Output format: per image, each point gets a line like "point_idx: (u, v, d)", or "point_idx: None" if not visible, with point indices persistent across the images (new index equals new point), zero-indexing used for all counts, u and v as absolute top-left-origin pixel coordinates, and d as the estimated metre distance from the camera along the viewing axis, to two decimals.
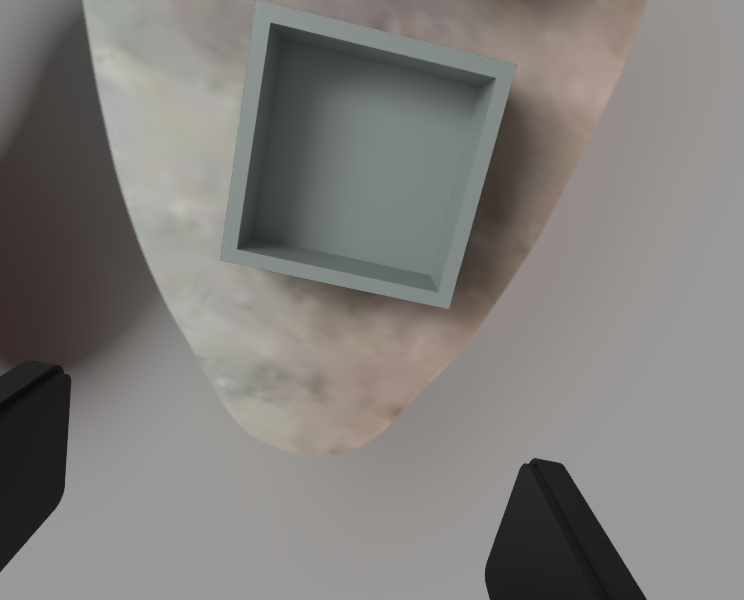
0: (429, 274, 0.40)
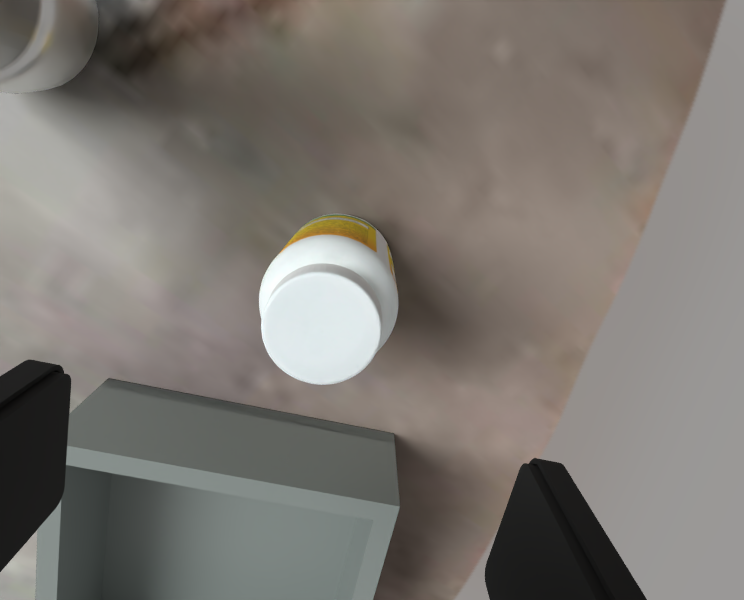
0: None
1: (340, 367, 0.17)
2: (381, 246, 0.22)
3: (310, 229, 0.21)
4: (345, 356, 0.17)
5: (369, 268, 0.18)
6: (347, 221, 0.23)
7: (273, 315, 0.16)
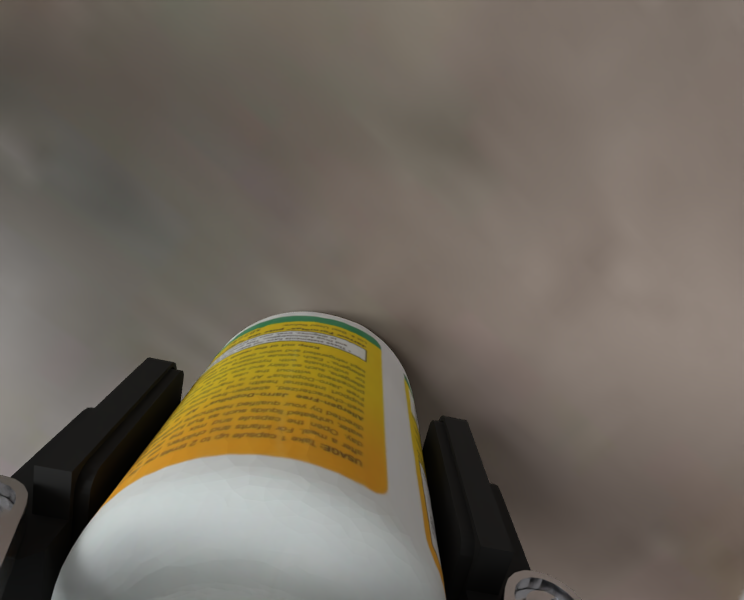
0: None
1: None
2: (395, 416, 0.09)
3: (222, 390, 0.08)
4: None
5: (366, 582, 0.06)
6: (318, 348, 0.10)
7: None
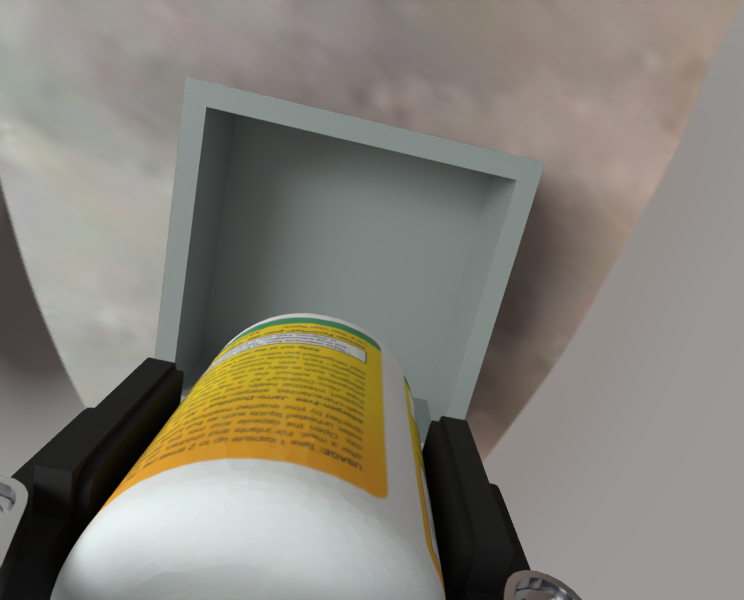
0: (425, 399, 0.31)
1: None
2: (395, 419, 0.09)
3: (221, 392, 0.08)
4: None
5: (366, 587, 0.06)
6: (318, 350, 0.10)
7: None
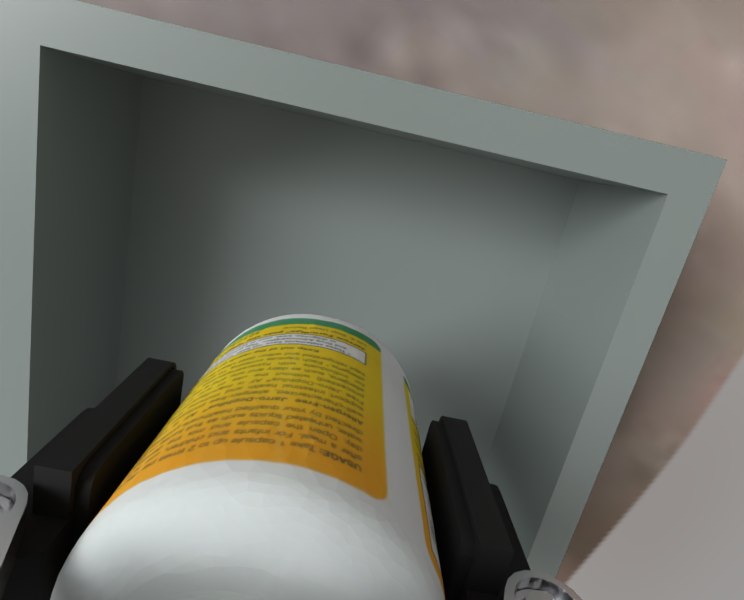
0: None
1: None
2: (395, 420, 0.09)
3: (220, 393, 0.08)
4: None
5: (366, 588, 0.06)
6: (318, 351, 0.10)
7: None
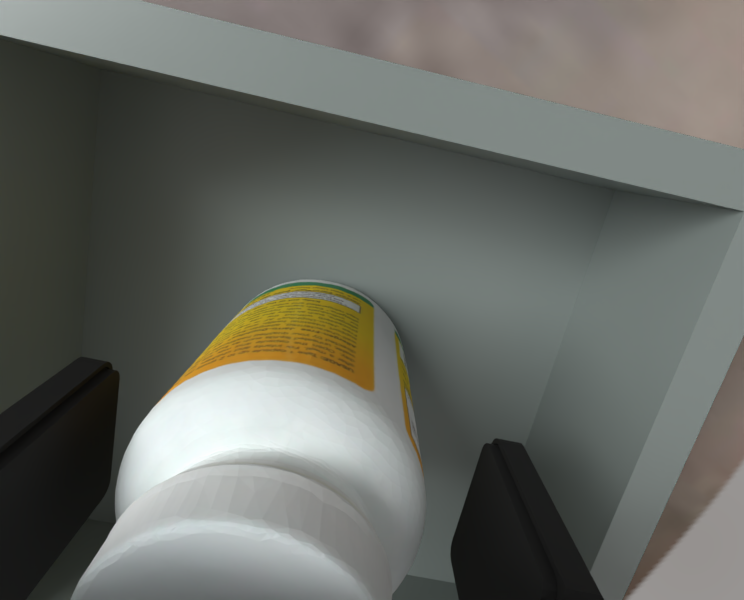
0: None
1: None
2: (384, 352, 0.11)
3: (241, 329, 0.10)
4: None
5: (357, 444, 0.08)
6: (319, 301, 0.12)
7: None
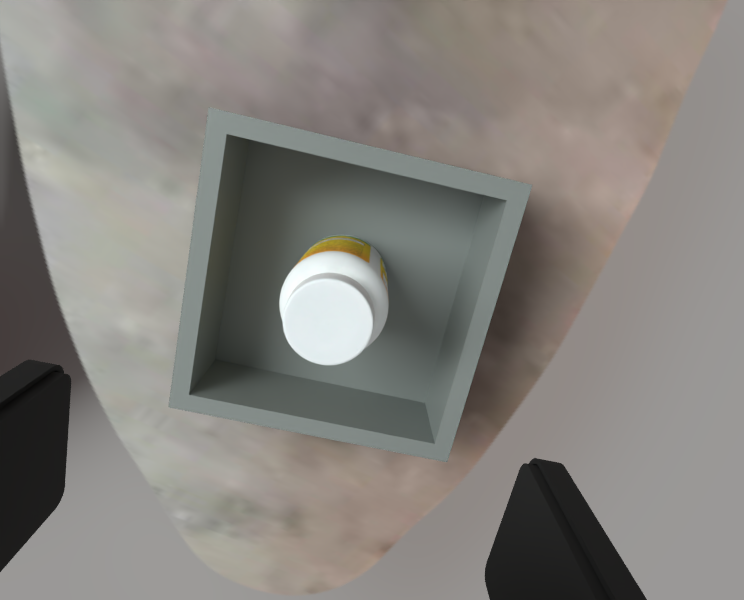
0: (424, 402, 0.34)
1: (343, 351, 0.22)
2: (374, 258, 0.27)
3: (317, 248, 0.26)
4: (347, 342, 0.22)
5: (363, 275, 0.24)
6: (346, 240, 0.28)
7: (291, 313, 0.22)
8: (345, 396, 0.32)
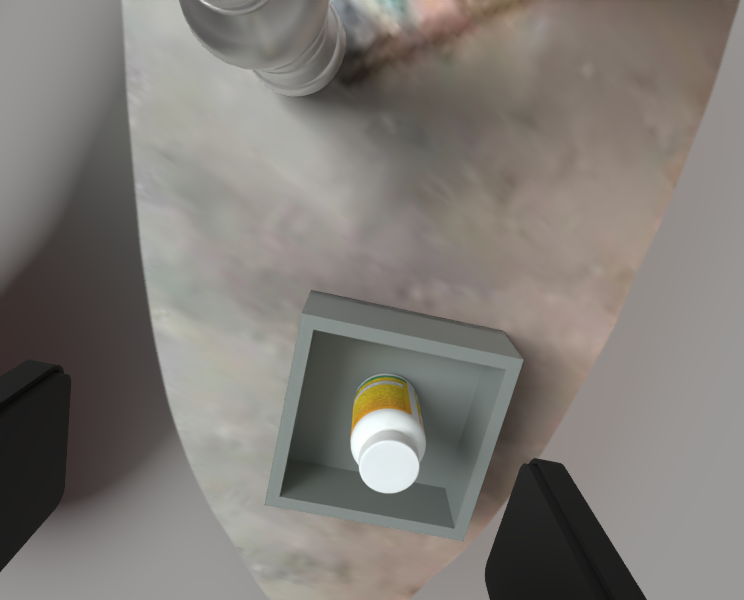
0: (444, 487, 0.45)
1: (399, 484, 0.33)
2: (412, 401, 0.38)
3: (372, 397, 0.37)
4: (402, 478, 0.33)
5: (409, 427, 0.35)
6: (391, 385, 0.39)
7: (365, 462, 0.33)
8: None
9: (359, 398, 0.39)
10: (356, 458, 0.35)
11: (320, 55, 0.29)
